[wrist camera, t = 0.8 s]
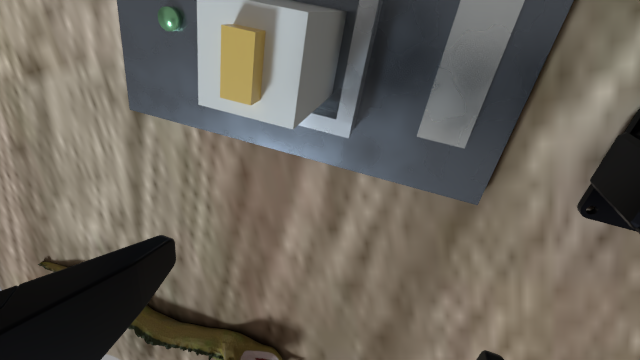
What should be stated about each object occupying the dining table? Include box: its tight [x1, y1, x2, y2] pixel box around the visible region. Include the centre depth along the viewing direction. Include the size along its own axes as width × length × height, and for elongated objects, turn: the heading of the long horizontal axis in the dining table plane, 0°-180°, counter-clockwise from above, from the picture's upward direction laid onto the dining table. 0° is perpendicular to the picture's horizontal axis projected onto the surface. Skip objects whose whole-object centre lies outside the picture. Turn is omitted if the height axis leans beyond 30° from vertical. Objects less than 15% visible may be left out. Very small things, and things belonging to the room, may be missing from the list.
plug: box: [197, 0, 347, 129], centre depth 14 cm, size 4×4×7 cm
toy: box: [38, 262, 283, 360], centre depth 31 cm, size 4×28×5 cm, turn 79°
